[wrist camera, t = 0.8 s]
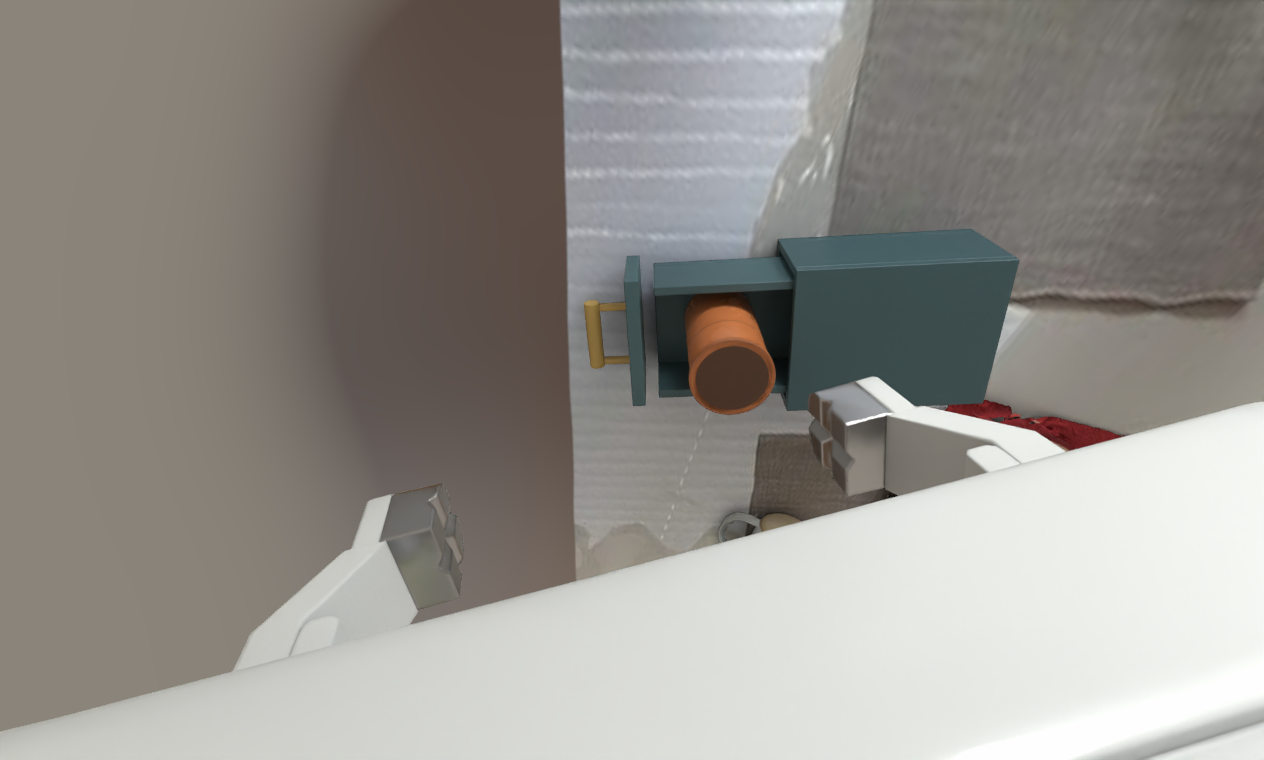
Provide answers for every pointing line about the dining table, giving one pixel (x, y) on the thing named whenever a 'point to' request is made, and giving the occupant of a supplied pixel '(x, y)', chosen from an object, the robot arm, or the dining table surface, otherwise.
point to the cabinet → (897, 313)
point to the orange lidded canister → (726, 353)
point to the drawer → (673, 290)
